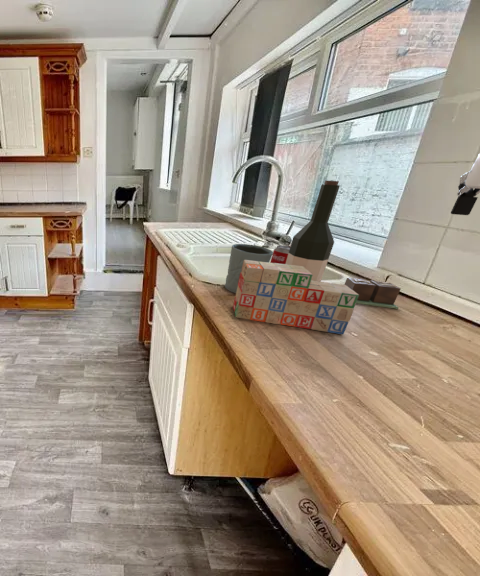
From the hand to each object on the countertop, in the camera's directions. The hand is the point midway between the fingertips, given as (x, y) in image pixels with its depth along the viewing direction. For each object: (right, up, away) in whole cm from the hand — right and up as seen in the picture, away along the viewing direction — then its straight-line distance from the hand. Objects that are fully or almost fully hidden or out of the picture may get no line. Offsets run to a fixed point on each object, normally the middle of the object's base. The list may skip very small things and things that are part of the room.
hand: (477, 217), depth 66 cm
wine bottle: (-31, -19, +14) cm, 39 cm away
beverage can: (-30, -15, +24) cm, 41 cm away
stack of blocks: (-40, -23, +4) cm, 46 cm away
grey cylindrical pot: (-41, -16, +21) cm, 49 cm away
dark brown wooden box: (-6, -18, +17) cm, 26 cm away
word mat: (-9, -19, +18) cm, 27 cm away
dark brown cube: (-11, -18, +18) cm, 28 cm away
